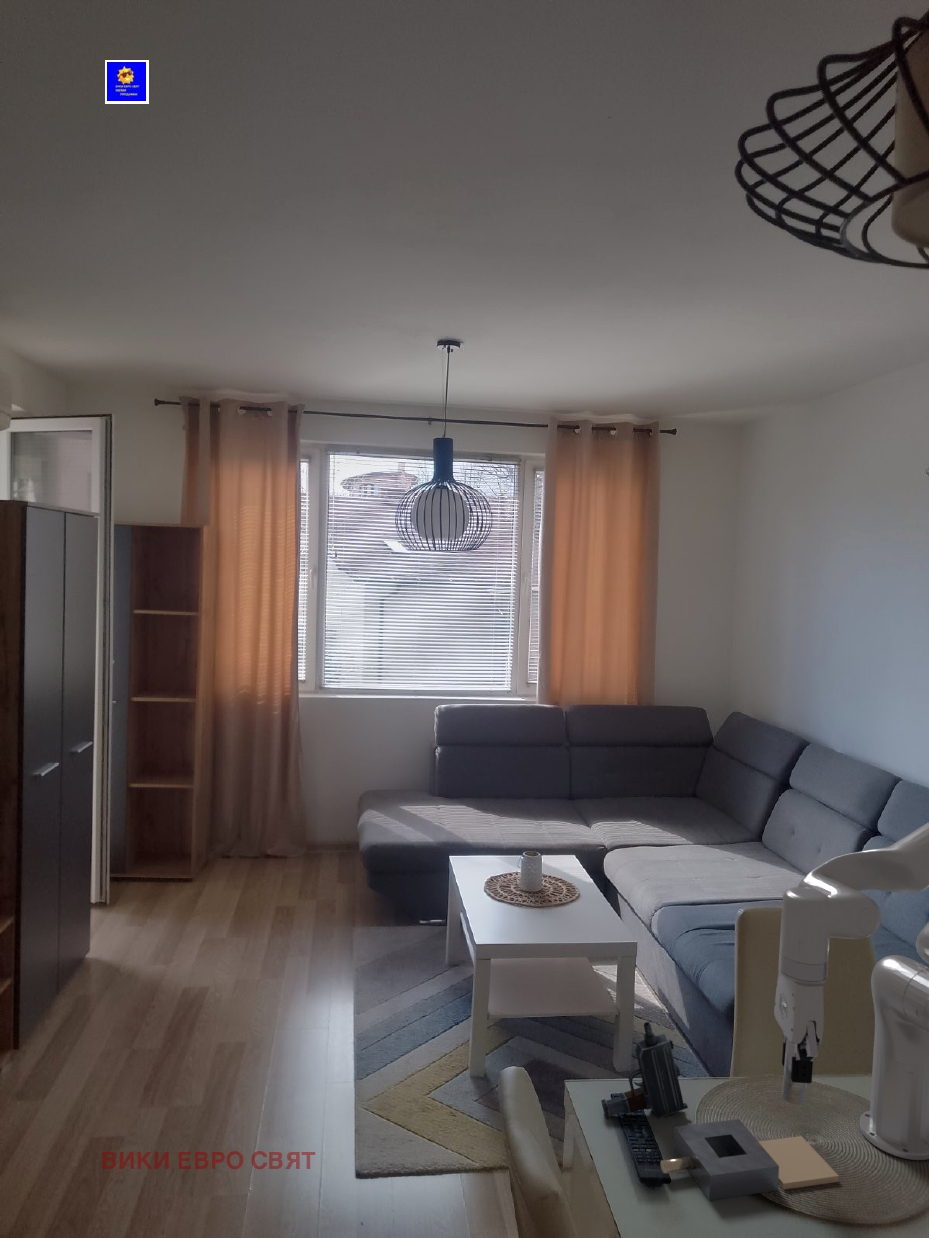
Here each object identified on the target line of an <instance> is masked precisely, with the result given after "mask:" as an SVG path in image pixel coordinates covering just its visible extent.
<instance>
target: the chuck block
mask: <svg viewBox="0 0 929 1238" xmlns="http://www.w3.org/2000/svg"><path fill="white" fill-rule="evenodd" d="M673 1141H674V1142H673V1151H674V1152H675V1154H676V1155H677V1156H678V1157H677V1158H670V1159H661V1160H660V1163H659V1164H660V1169H661V1172H662V1173H663V1174H671V1173H677V1172H685V1171H688V1173H690V1175H691V1176H692V1178H693V1179H694V1181H695V1182H696V1184H697V1185H698V1186H699V1188H700V1189H701V1191H702V1192H703V1193H704V1195H705V1197H706V1198H707V1199H708V1201H714V1200H720V1199H721V1200H722V1199H728V1198H735V1197H742V1196H750V1195H755V1194H762V1193H770V1192H776V1191H779V1190H778V1189H779V1184H778V1177H779V1166H778V1164H777V1163H776V1162H775V1161H774V1160H773V1159H772V1157H771V1156H770V1155H769V1154H768V1153H767V1151H766V1150H765V1149H764V1148H763V1147H762V1146H761V1144H760V1143H759V1141H758V1140H757V1139H756V1137H755V1136H754V1135H753V1134H752V1132H751V1131H750V1130H749V1129H748V1128H747V1127H746V1125H745V1124H744V1123H743V1122H742V1121H741V1120H740V1118H738V1119H737V1118H736V1119H726V1120H720V1121H719V1120H718V1121H711V1122H704V1123H697V1124H695V1123H694V1124H688V1125H687V1124H686V1125H680V1126H679V1125H678V1126H674V1139H673Z"/></svg>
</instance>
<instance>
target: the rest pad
mask: <svg viewBox="0 0 929 1238" xmlns="http://www.w3.org/2000/svg"><path fill="white" fill-rule="evenodd" d="M758 1142H759V1143H760V1144H761V1146H762V1147H763V1148H764V1149H765V1150H766V1151H767V1153H768V1154H769V1155H770V1156H771V1157H772V1159H773V1160H774V1161H775V1162H776V1163H777V1164H778V1166H779V1177H778V1186H780V1187H781V1189H782V1190H789V1189H798V1188H805V1187H810V1186H812V1187H813V1186H817V1185H826V1184H832V1183H833V1184H834V1183H838V1182H839V1178H840V1175H839V1174H838V1173H837V1172H836V1171H835V1170H834V1169H833V1168H832V1166H830V1165H829V1164H828V1162H826V1160H825V1159H824V1158H823V1157H822V1156H821V1155H820V1154H819V1153H818V1152H817V1150H815V1149H814V1148H813V1146H811V1145H810V1144H809V1142H808V1141H807V1140H806V1139H805V1138H804V1137H803V1136H802V1135H801V1136H792V1137H784V1138H777V1139H768V1140H760V1141H758Z"/></svg>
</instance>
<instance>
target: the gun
mask: <svg viewBox="0 0 929 1238" xmlns="http://www.w3.org/2000/svg"><path fill="white" fill-rule="evenodd" d="M643 1027H644V1028H643V1029H644V1032H645V1033H644V1035H643V1038H644V1039H642V1040H639V1041H637V1042H636V1046H635V1048H634V1050H635V1056H636V1060H637V1064H638V1069H634V1070H633V1071H631V1072H630V1074H629V1076H628V1083H629V1088H630V1090H629V1091H626V1092H625V1091H624V1092H620V1093H619V1096H617V1097H614V1098H610V1099H608V1100H606V1098H604V1099H601V1100H600V1101H601V1106H602V1110H603V1114H604V1116H605V1118H606V1119H610V1118H611V1117H612V1116H615V1115H618V1114H620V1113H624V1114H625V1115H626V1117H630V1116H631V1115H632V1114H633V1113H631V1112H634V1113H637V1112H638V1111H643V1110H652V1112H653V1113H654V1114H655V1116H656V1117H657V1119H659V1118H662V1117H665V1116H668V1115H671V1114H674V1113H677V1112H680V1111H684V1110H686V1109H688V1108H689V1107H688V1104H687V1103H686V1102H685V1103H684V1098H683V1094H682V1090H681V1085H680V1080H679V1077H680V1076H681V1071H680V1070H681V1069H680V1068H679V1066H678V1065H677V1064H676V1063H675V1059H674V1054H673V1049H674V1043H673V1040H671V1039H669V1038H668V1036H667V1035H666V1034H665V1033H661V1034H657V1035H656V1034H655V1033H654V1032H653V1030H652V1025H651V1023H650V1022H649V1021H645V1022H644V1023H643ZM638 1075H640V1077H641V1082H636V1081H633V1080H634V1078H635V1077H636V1076H638ZM634 1085H635V1086H636V1087H637V1088H634ZM623 1111H624V1112H623ZM626 1113H631V1114H626Z"/></svg>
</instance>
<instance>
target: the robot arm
mask: <svg viewBox="0 0 929 1238" xmlns="http://www.w3.org/2000/svg"><path fill="white" fill-rule="evenodd" d="M927 889H929V821H928V822H927V823H925V824H923V825H922V826H920V827H919V828H917V829H916V830H913V831H912V832H910V833H909V834H907V835H905V836H904V837H902V838H901V839H899V840H898V841H896V842H895V843H893V844H891V845H889V846H886V847H881V848H874V849H868V850H862V851H855V852H851V853H846V854H842V855H839V856H835V857H833V858H831V859H828V860H827V861H826V862H824V863H822V864H820V865H819V866H817V867H816V868H814V869H812V870H811V871H810V872H808V873H807V874H806V875H805V876H804V877H803V878H802V879H801V880H800V882H799V883H798V885H797V887H790V888H788V889H786V891H785V892H784V893H783V895H782V901H781V902H782V903H781V915H780V916H781V920H780V935H779V936H780V937H779V951H778V952H779V954H778V969H777V970H778V974H777V975H778V976H777V979H776V980H777V982H776V989H775V999H774V1010H773V1014H774V1018H775V1020H776V1022H777V1024H778V1025H779V1027H780V1028H781V1030H782V1032H783V1034H782V1039H783V1043H782V1054H781V1055H782V1058H781V1064H782V1066H783V1067H784V1064H785V1052H786V1039H787V1038H788V1039H789V1040H790V1042H792V1043H793V1044H795V1048H794V1056H795V1057H792V1066H791V1080H792V1082H795V1083H807V1084H811V1083H812V1081H813V1069H814V1068H813V1066H814V1061H815V1058H818V1056H819V1052H818V1046H820V1045H822V1042H823V1037H824V1036H823V1035H824V1023H825V1022H824V1020H825V1019H824V1018H825V1017H824V1014H825V1013H824V1012H825V1011H824V1010H825V1009H824V1008H825V1003H824V1002H825V1001H824V1000H825V999H824V997H825V995H824V994H825V993H824V984H826V983H827V982H828V972H829V971H828V970H829V954H830V953H829V952H830V940H831V939H832V938H837V939H847V940H848V939H850V940H860V939H866V938H869V937H870V936H872V935H874V934H875V933H876V932H877V931H878V930H879V928H880V926H881V923H882V913H881V909H880V907H879V905H878V904H877V903H876V901H875V900H873V899H872V898H871V897H870V896H868V895H867V894H864V893H863V892H864V891H881V892H890V893H907V894H910V893H911V894H912V893H913V894H915V893H920V892H923V891H926V890H927ZM862 891H863V892H862ZM915 949H916V952H917V954H918V956H919V957H920V958H921V960H923V961H924V962H925V963H926V964H928V965H929V921H928V922H927V923H926V924H925V926H924V927H923V928H922V929H921V930H920V932H919V934H918V935H917V938H916V941H915ZM871 972H872V973H871V979H870V988H871V994H872V1000H873V1008H874V1040H873V1054H872V1057H873V1058H872V1073H871V1075H872V1076H871V1087H870V1088H871V1089H870V1091H871V1092H870V1107H869V1110H866V1111H865V1112H863V1113H862V1114H861V1116H860V1118H859V1128H860V1131H861V1133H862V1135H863V1136H864V1137H865V1139H866V1140H868V1141H869V1142H870V1143H871V1144H872V1145H874V1146H875V1147H877V1148H878V1149H880V1150H881V1151H884V1152H886V1153H887V1154H889V1155H892V1156H895V1157H898V1158H902V1159H906V1160H911V1161H926V1160H929V966H926V965H925V964H923V963H921V962H918V961H917V960H914V959H912V958H910V957H908V956H903V955H900V954H893V955H891V954H889V955H887V956H884V957H883V958H881V959H879V960H878V962H877V963H876V964H875V966H874V968H873V969H872V971H871ZM804 1037H806V1039H803V1038H804ZM800 1045H807V1047H806V1048H802V1049H801V1050H800Z"/></svg>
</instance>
